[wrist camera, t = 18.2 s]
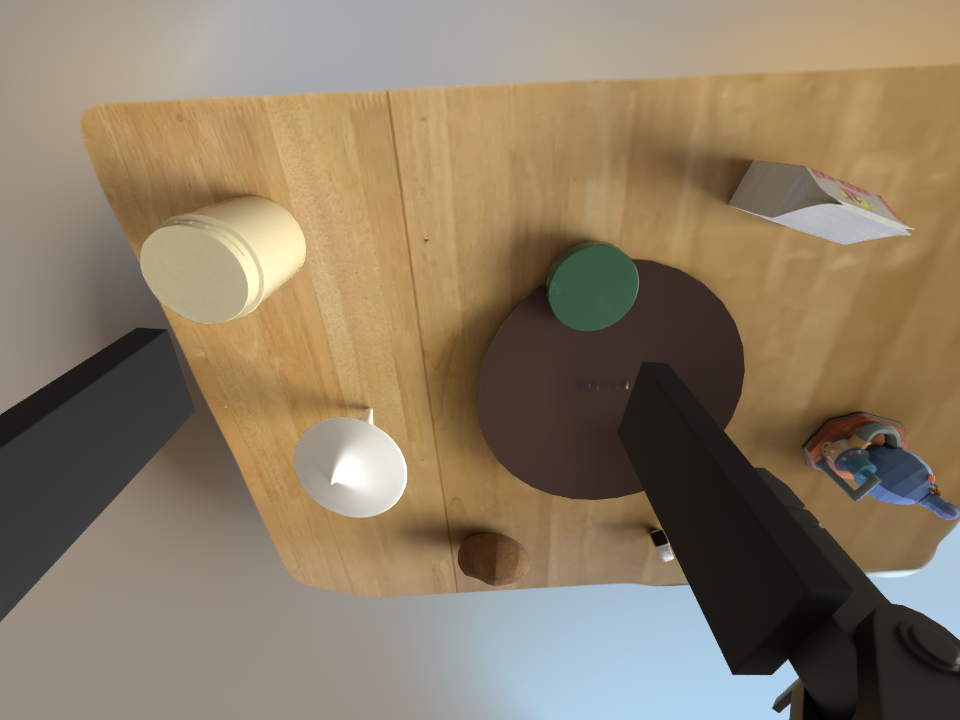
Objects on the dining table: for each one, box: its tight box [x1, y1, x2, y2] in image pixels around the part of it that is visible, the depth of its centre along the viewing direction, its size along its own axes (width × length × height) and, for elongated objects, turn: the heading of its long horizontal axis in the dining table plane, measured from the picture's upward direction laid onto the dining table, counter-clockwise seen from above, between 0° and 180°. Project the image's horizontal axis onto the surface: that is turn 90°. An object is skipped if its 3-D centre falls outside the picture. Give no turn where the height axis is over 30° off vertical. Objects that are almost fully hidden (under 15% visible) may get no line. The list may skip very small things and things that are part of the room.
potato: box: [458, 533, 530, 586], centre depth 54 cm, size 7×10×6 cm
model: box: [803, 412, 959, 520], centre depth 46 cm, size 12×9×9 cm
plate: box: [476, 260, 745, 500], centre depth 43 cm, size 28×28×4 cm
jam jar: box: [140, 196, 306, 324], centre depth 31 cm, size 8×8×10 cm
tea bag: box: [728, 160, 916, 245], centre depth 31 cm, size 4×7×10 cm, turn 73°
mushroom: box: [294, 408, 407, 517], centre depth 40 cm, size 10×11×12 cm
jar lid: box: [546, 241, 639, 331], centre depth 37 cm, size 8×8×2 cm
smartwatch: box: [650, 529, 674, 562], centre depth 56 cm, size 4×2×4 cm, turn 26°
